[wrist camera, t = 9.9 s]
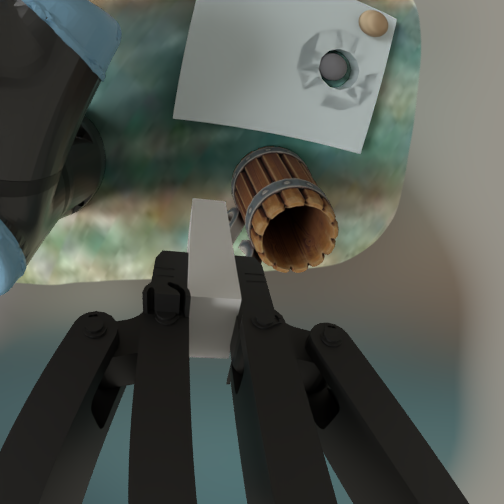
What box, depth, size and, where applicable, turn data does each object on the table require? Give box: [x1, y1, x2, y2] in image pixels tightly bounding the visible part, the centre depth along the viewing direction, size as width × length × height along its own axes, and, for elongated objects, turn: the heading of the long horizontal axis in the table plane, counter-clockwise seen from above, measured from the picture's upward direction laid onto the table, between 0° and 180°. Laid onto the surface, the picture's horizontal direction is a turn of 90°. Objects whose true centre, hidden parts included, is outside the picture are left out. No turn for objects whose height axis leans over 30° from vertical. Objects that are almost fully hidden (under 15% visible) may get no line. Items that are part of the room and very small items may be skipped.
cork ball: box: [359, 10, 388, 37], centre depth 27 cm, size 4×4×4 cm
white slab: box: [173, 0, 397, 154], centre depth 32 cm, size 24×20×2 cm
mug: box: [227, 146, 338, 273], centre depth 36 cm, size 16×11×15 cm
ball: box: [319, 53, 347, 80], centre depth 32 cm, size 4×4×4 cm
